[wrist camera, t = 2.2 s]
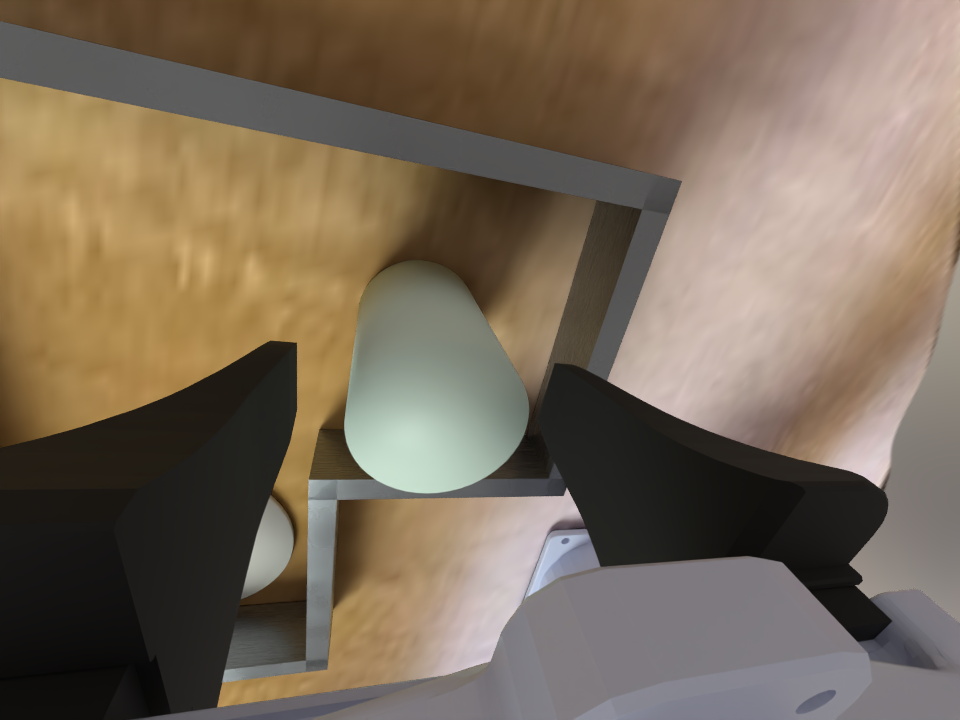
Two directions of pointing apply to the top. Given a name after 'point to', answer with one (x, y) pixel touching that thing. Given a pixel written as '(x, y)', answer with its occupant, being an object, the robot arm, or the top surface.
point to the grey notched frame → (259, 106)
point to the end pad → (269, 548)
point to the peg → (429, 384)
